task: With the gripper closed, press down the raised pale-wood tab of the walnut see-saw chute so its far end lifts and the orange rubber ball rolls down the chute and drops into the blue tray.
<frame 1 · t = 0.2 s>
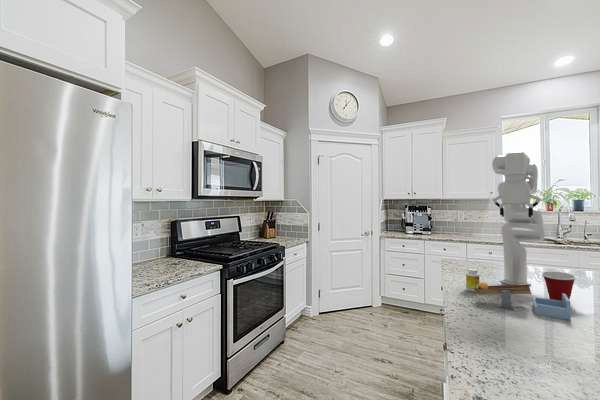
hand: (516, 216, 125), 36 cm above the countertop, tool pointing down, fingers open, 9 cm apart
blue tray: (550, 313, 106), on the countertop
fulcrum: (506, 305, 114), on the countertop
ball: (483, 286, 119), point 7 cm above the countertop, tilted 16°, touching lever
plastic cup: (558, 302, 117), on the countertop
lever: (502, 287, 117), point 7 cm above the countertop, hinge at 12.0°, touching ball
supplement bottle: (472, 290, 134), on the countertop
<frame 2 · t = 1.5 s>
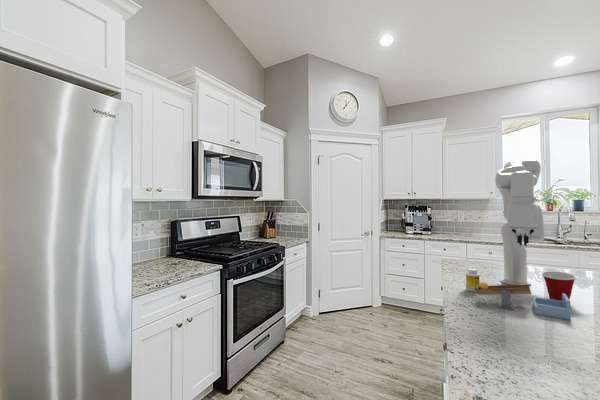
hand: (522, 244, 115), 25 cm above the countertop, tool pointing down, fingers closed
nothing on the countertop moved.
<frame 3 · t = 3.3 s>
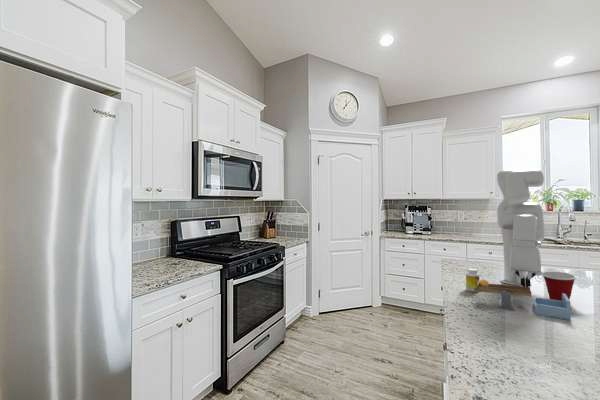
hand: (525, 287, 115), 7 cm above the countertop, tool pointing down, fingers closed
ball: (484, 283, 119), point 8 cm above the countertop, tilted 7°, touching lever
lever: (502, 286, 117), point 7 cm above the countertop, hinge at 3.5°, touching ball, gripper
everything else where it was.
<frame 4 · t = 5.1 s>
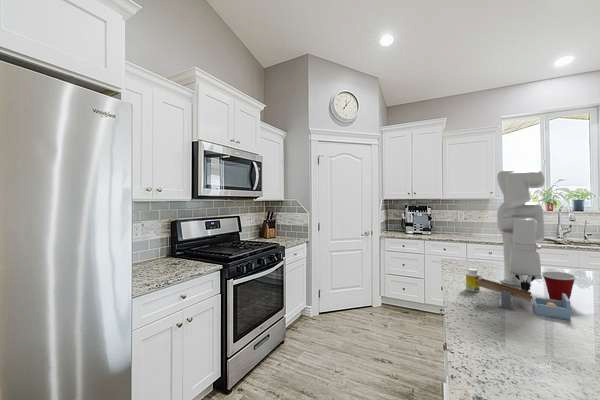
hand: (525, 291, 115), 5 cm above the countertop, tool pointing down, fingers closed
ball: (551, 307, 106), point 2 cm above the countertop, tilted 43°, touching blue tray
lever: (503, 286, 117), point 7 cm above the countertop, hinge at -10.7°, touching gripper
everything else where it was.
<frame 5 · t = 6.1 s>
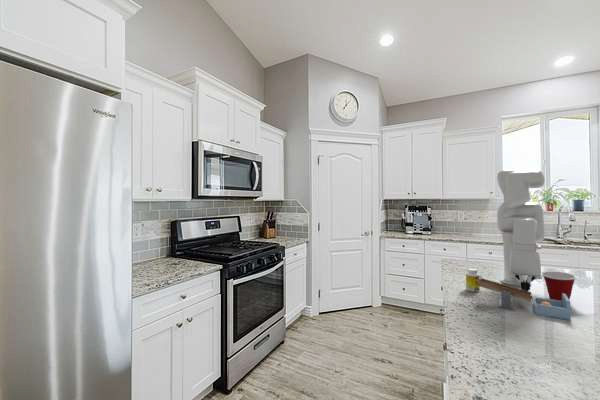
hand: (525, 291, 115), 5 cm above the countertop, tool pointing down, fingers closed
ball: (546, 306, 107), point 2 cm above the countertop, tilted 8°, touching blue tray
everything else where it was.
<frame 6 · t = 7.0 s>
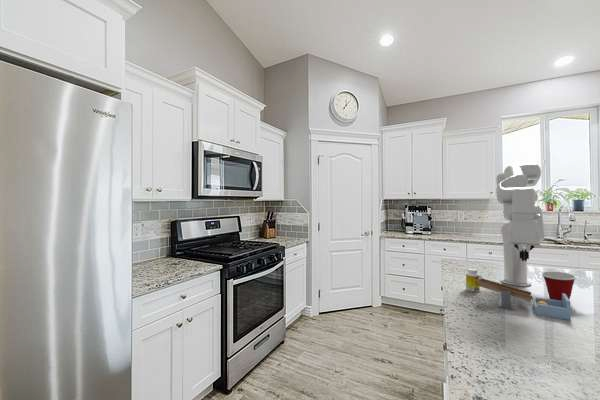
hand: (524, 260, 116), 18 cm above the countertop, tool pointing down, fingers closed
ball: (542, 305, 108), point 2 cm above the countertop, tilted 41°, touching blue tray
lever: (503, 286, 117), point 7 cm above the countertop, hinge at -10.7°
everything else where it was.
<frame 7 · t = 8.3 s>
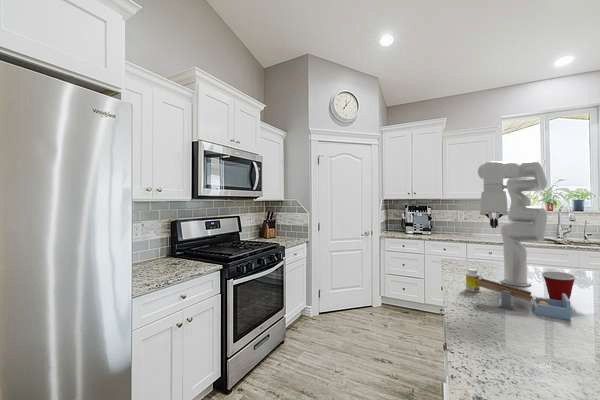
hand: (494, 227, 127), 31 cm above the countertop, tool pointing down, fingers closed
ball: (543, 306, 107), point 2 cm above the countertop, tilted 31°, touching blue tray
everything else where it was.
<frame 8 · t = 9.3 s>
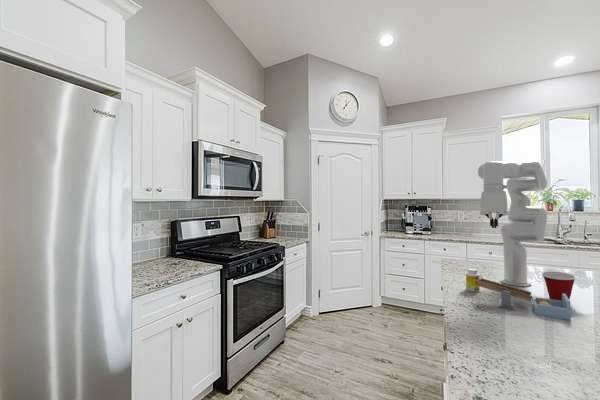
hand: (494, 227, 127), 31 cm above the countertop, tool pointing down, fingers closed
ball: (544, 306, 107), point 2 cm above the countertop, tilted 23°, touching blue tray
everything else where it was.
at the end: ball inside the target area on the blue tray (1.7 cm from its centre), point 2.2 cm above the blue tray's base; ball touching blue tray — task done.
